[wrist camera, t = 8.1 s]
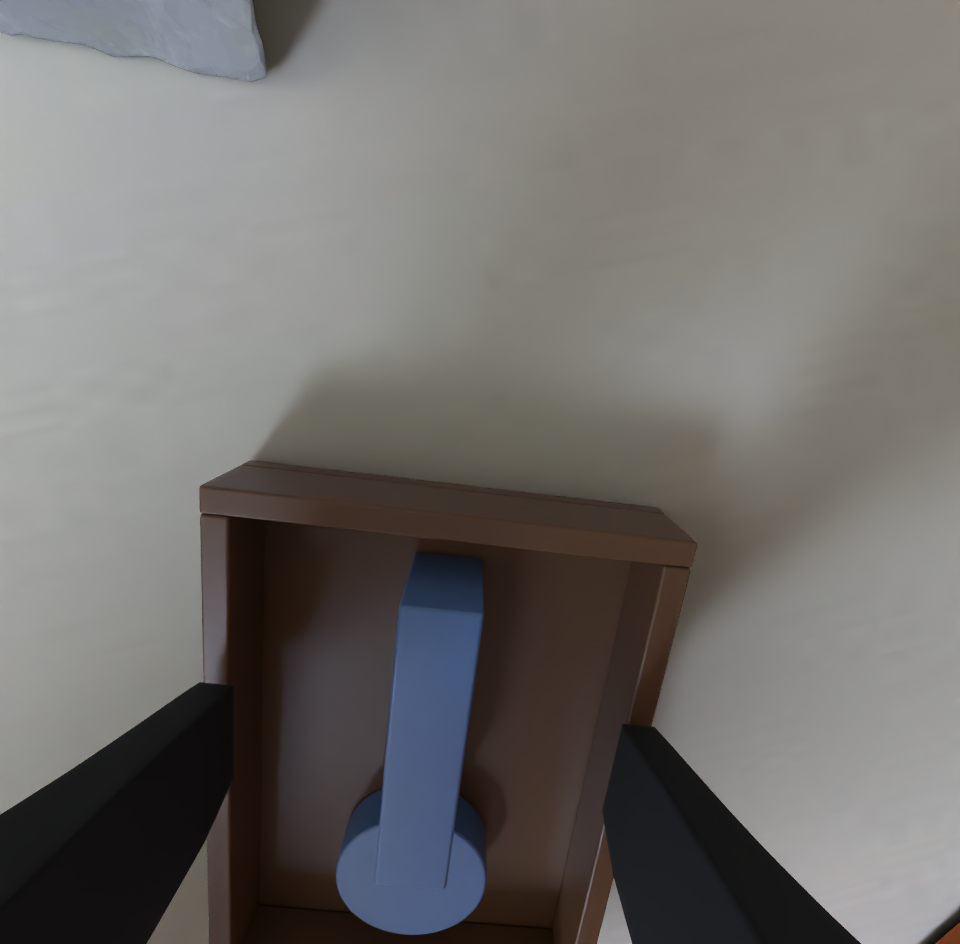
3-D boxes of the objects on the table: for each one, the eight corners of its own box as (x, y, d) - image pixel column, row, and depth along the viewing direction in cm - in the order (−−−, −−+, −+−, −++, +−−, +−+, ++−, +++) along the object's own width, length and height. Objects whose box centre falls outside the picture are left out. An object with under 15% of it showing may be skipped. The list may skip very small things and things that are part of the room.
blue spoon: (477, 895, 12) (477, 1009, 10) (342, 883, 12) (314, 997, 10) (530, 563, 10) (544, 621, 8) (365, 544, 10) (336, 599, 8)
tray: (564, 925, 13) (578, 1019, 11) (247, 899, 13) (209, 991, 11) (659, 507, 10) (699, 542, 8) (249, 459, 10) (198, 485, 8)
